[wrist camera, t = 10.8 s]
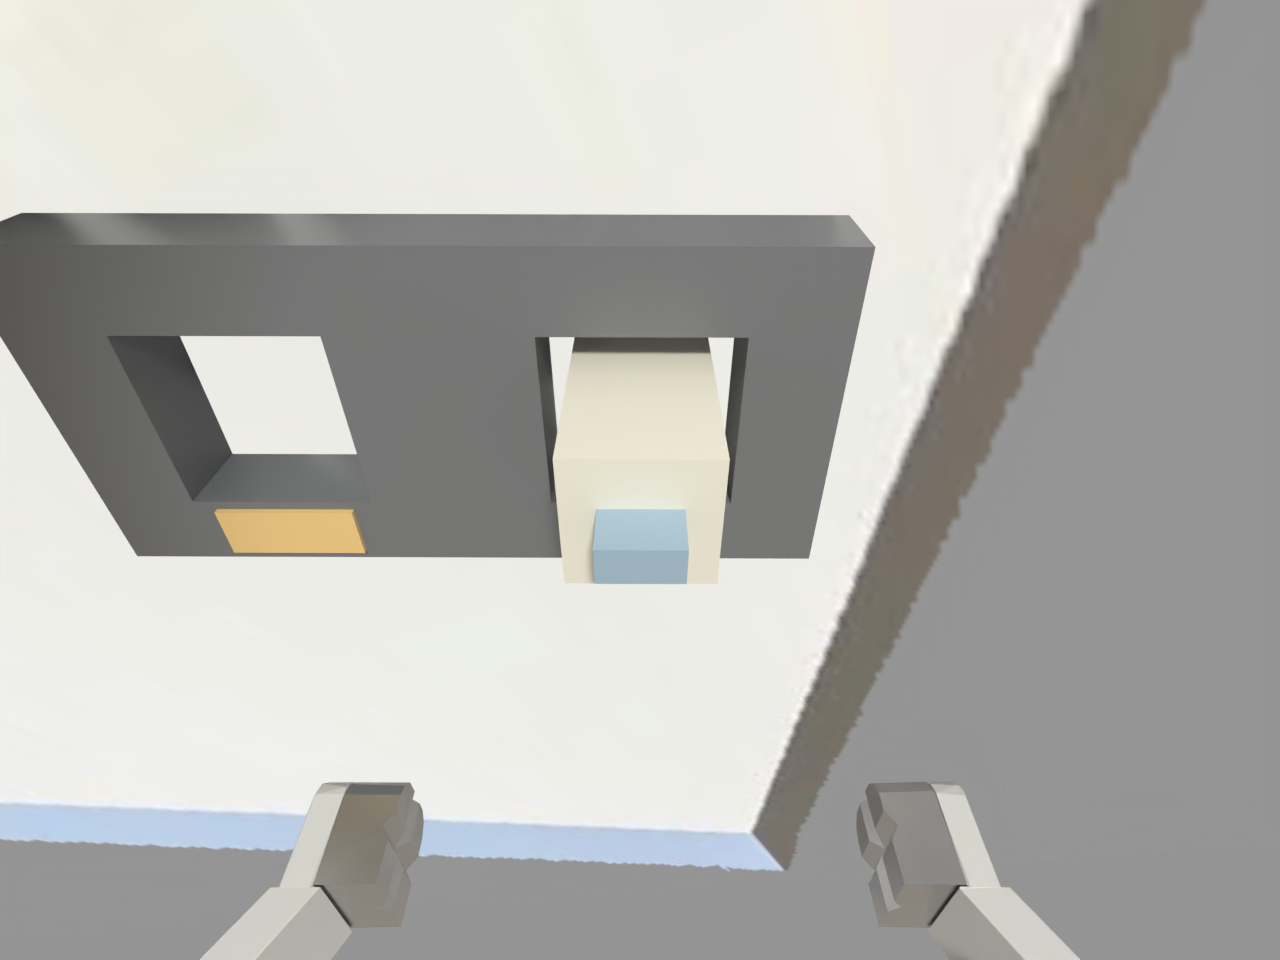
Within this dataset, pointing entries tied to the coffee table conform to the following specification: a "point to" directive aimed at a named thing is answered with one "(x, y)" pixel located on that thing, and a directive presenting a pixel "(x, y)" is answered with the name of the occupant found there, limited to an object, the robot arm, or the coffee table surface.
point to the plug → (641, 463)
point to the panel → (421, 365)
